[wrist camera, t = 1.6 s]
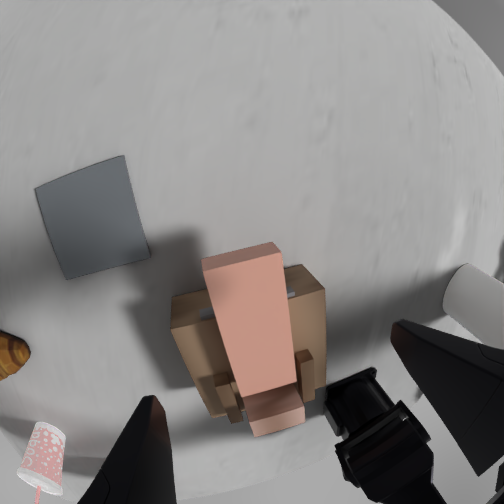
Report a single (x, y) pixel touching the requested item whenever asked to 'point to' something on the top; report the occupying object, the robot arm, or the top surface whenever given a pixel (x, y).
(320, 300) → the dispenser
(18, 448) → the top surface
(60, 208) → the pad
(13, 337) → the croissant
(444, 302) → the cylindrical container
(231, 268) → the salmon pink rectangular block
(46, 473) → the beverage cup
